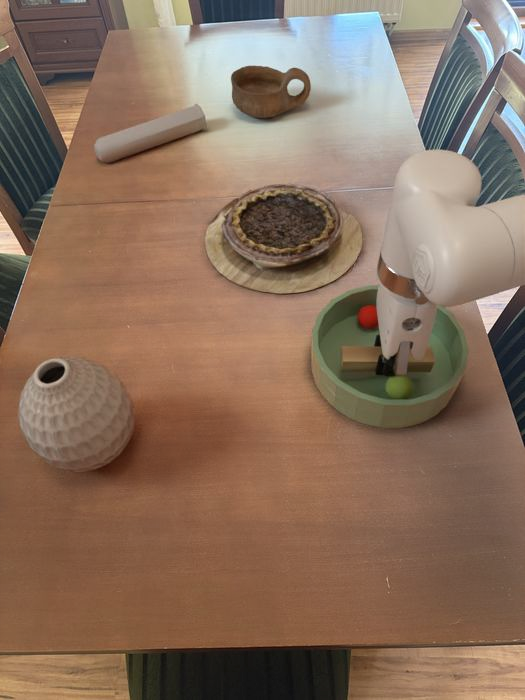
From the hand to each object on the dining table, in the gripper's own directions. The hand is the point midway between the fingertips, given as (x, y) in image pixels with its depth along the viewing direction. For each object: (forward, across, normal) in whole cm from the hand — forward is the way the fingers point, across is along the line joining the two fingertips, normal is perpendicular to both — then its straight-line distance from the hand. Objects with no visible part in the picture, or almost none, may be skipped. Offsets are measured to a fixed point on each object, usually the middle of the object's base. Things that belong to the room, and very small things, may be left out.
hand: (385, 362), depth 69 cm
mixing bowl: (+4, +2, 0) cm, 4 cm away
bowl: (+7, +76, +17) cm, 78 cm away
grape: (+1, -3, -2) cm, 4 cm away
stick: (0, 0, 0) cm, 0 cm away
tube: (+6, +62, +43) cm, 76 cm away
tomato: (+1, +9, +1) cm, 9 cm away
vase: (+4, -11, +39) cm, 40 cm away
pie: (+5, +30, +14) cm, 34 cm away
